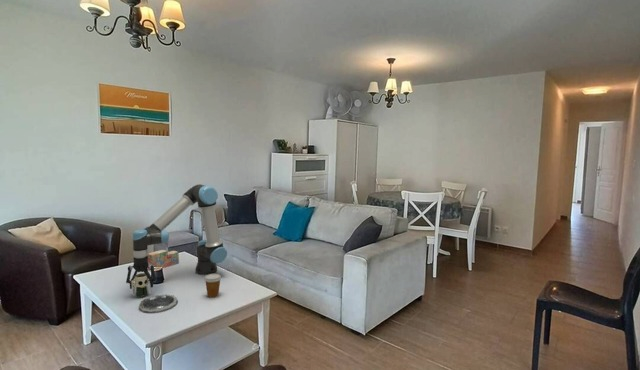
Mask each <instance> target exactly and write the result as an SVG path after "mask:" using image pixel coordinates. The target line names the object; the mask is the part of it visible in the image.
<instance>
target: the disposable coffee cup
mask: <svg viewBox="0 0 640 370" xmlns="http://www.w3.org/2000/svg"><path fill="white" fill-rule="evenodd" d="M204 276H205V277H204V281H205V286H206V287H205V288H206V293H207V297H208V298H217V297H218V296H219V292H220V283H221V279H222V277H221V275H220V274H219V273H213V274H209V275H204Z"/></svg>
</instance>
